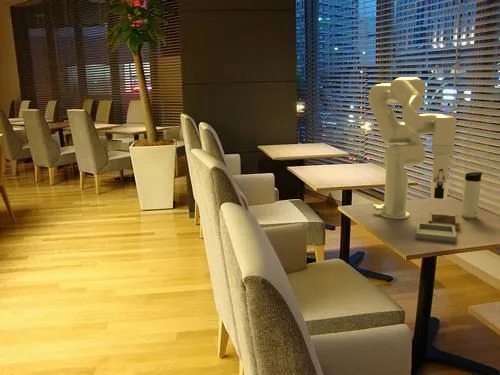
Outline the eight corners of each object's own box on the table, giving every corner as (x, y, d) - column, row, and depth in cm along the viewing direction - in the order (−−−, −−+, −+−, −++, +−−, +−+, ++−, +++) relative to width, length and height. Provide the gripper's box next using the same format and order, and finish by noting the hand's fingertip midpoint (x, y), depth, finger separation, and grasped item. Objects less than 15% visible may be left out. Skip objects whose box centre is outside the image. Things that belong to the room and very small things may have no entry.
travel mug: (479, 219, 205) (484, 174, 200) (463, 218, 206) (467, 173, 202) (475, 215, 211) (480, 171, 206) (459, 214, 212) (464, 170, 208)
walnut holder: (428, 227, 195) (428, 220, 194) (428, 219, 206) (429, 213, 205) (458, 230, 191) (459, 223, 190) (457, 222, 202) (457, 215, 201)
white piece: (425, 196, 185) (427, 178, 183) (443, 195, 185) (444, 178, 184) (434, 200, 178) (435, 182, 177) (451, 200, 179) (453, 182, 177)
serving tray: (415, 239, 181) (416, 233, 181) (416, 228, 194) (417, 222, 194) (455, 243, 176) (456, 237, 176) (454, 232, 189) (454, 226, 189)
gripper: (431, 145, 187) (428, 190, 191) (431, 152, 171) (427, 200, 175) (452, 146, 184) (448, 191, 188) (454, 153, 168) (449, 202, 173)
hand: (438, 195), depth 182 cm, fingers closed on white piece, 5 cm apart
